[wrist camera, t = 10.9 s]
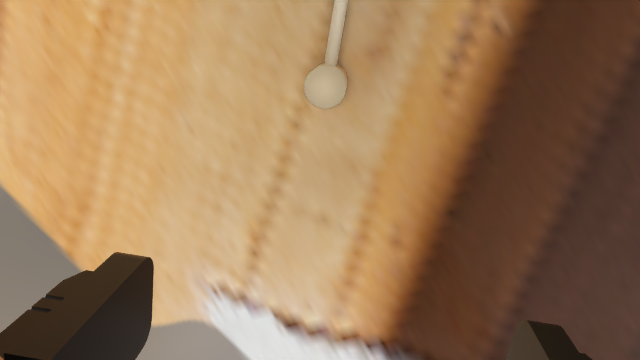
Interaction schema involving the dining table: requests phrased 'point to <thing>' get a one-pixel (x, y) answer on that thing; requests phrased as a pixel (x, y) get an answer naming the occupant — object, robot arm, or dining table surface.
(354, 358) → the dining table surface
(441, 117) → the dining table surface
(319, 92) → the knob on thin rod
